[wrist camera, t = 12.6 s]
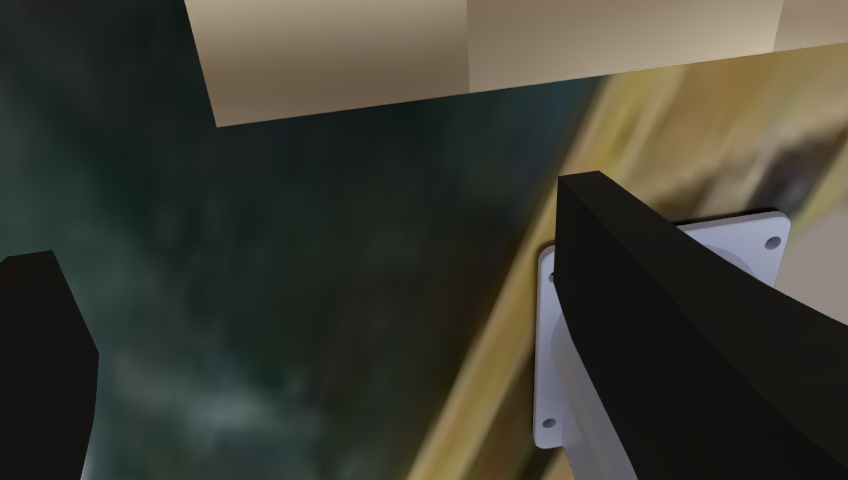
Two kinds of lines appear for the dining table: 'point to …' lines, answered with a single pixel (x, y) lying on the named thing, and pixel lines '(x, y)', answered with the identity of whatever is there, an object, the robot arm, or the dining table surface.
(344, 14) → the dock
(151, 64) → the dining table surface
